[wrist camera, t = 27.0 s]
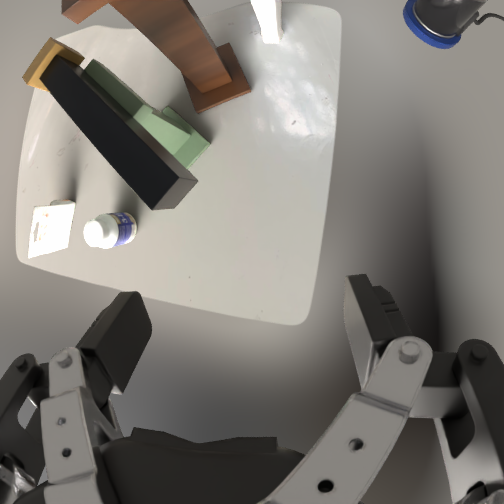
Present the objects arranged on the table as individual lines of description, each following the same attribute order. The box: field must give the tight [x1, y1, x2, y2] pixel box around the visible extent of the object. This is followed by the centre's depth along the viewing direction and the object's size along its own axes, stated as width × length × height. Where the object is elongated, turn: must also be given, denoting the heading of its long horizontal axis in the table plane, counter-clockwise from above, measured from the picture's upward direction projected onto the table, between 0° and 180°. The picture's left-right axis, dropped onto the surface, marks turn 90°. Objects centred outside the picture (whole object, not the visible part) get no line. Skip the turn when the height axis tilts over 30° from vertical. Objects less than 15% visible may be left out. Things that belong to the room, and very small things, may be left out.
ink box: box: [28, 199, 76, 258], centre depth 43 cm, size 3×9×12 cm, turn 160°
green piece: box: [84, 59, 210, 170], centre depth 33 cm, size 10×6×21 cm, turn 45°
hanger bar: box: [22, 37, 198, 210], centre depth 20 cm, size 22×5×5 cm, turn 45°
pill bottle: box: [84, 212, 137, 248], centre depth 42 cm, size 5×5×9 cm
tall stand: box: [62, 0, 251, 114], centre depth 25 cm, size 12×9×32 cm
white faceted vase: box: [250, 0, 284, 43], centre depth 30 cm, size 5×4×15 cm
